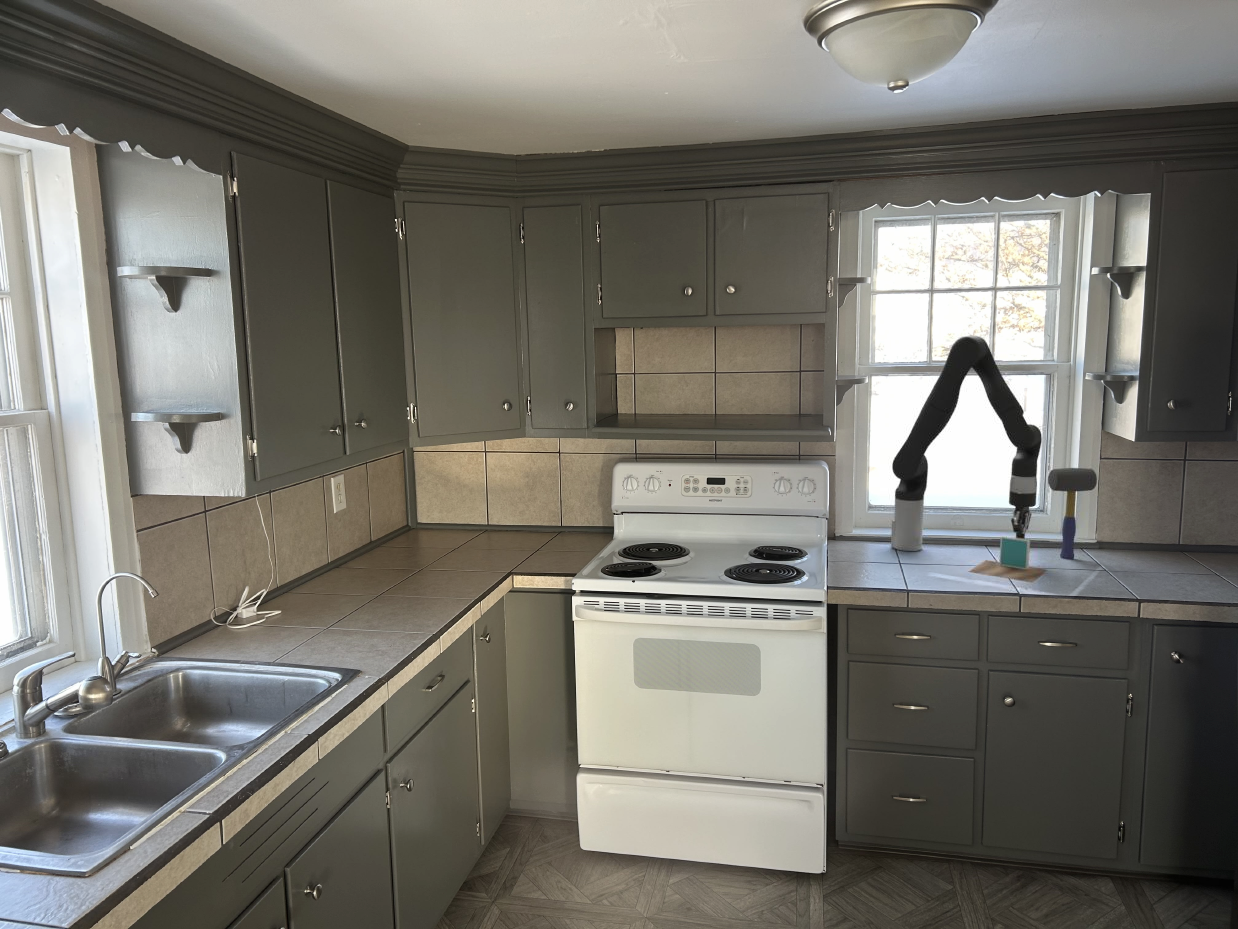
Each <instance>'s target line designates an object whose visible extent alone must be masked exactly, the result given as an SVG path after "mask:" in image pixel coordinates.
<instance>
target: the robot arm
mask: <svg viewBox="0 0 1238 929" xmlns="http://www.w3.org/2000/svg"><path fill="white" fill-rule="evenodd" d="M971 369H972V370H974V372H975V373H976V375H977V376H978V378H979V379H980V381H981V383H982V385H983V388H984V391H985V394H986V397H987V400H988V401H989V404H990V405H991V407H992V409H993V411H994V412H995V413H996V415H997V417H998V419H999V420H1000V421H1001V423H1002V425H1003V429H1004V431H1005V434H1006V436H1007V438H1008V440H1009V441H1010V443H1011V444H1012V445H1013V447H1015V448H1016V452H1015V455H1014V457H1013V458H1012V461H1011V472H1010V474H1011V475H1010V480H1009V492H1008V494H1009V495H1008V504H1009V505H1010V506H1013V507H1015V508H1014V511H1013V512H1012V514H1013V515H1012V516H1013V517H1012V518H1011V520H1010V521H1011V527H1012V529H1013V530H1012V531H1013V533H1014V534H1015V537H1016V538H1023V539H1026V533H1027V531H1028V530H1029V525H1030V521H1031V519H1032V512H1031V511H1030V508H1033V507H1035V506H1036V504H1037V492H1038V490H1037V489H1038V479H1037V474H1038V460H1039V455H1040V452H1041V447H1042V441H1043V438H1042V437H1043V436H1042V432H1041V429H1040V428H1039V427H1038V426H1036V425H1035V424H1031V423H1029V424H1028V423H1027V420H1026V419H1025V417H1024V414H1025V413H1024V409H1023V407H1022V405H1021V404H1020V401H1018V399H1017V398H1016V396H1015V394H1014V393H1013V392H1012V390H1011V389H1010V388H1011V387H1009V385H1008V384H1007V382H1006V380H1005V378H1004V377H1003V375H1002V373H1001V371H1000V369H999V367H998V365H997V363H996V361H995V359H994V356H993V354H992V351H991V349H990V347H989V345H988V343H987V341H986V340H985V339H984V338H983V337H981V336H978V335H965V336H961V337H959V338H957V339H956V340H955V341H954V342H953V344H952V345H951V347H950V350H949V353H948V355H947V357H946V360H945V363H944V365H943V368H942V371H941V373H940V374H939V375H938V378H937V380H936V382H935V384H934V385H933V387H932V389H931V391H930V393H929V395H928V396H927V398H926V400H925V401H924V404H923V406H922V407H921V409H920V411H919V414H918V415H917V418H916V420H915V422H914V424H913V426H912V428H911V429H910V433H909V434H908V436H907V439H906V440H905V441H904V443H903V444H902V446H901V448H900V449H899V450H898V452H897V453H896V455H895V456H894V458H893V461H892V467H891V468H892V469H891V470H892V473H893V475H894V476H895V477H896V478H897V479H899V480H900V481H899V484H898V485H897V487H896V489H895V491H894V513H893V514H894V516H893V519H892V520H891V532H890V534H891V538H890V541H891V542H890V548H891V549H896V550H898V551H903V552H916V551H921V550H922V549H923V530H924V529H923V528H924V505H925V504H924V502H925V493H926V490H927V486H928V476H929V475H928V474H929V464H928V462H929V461H928V459H927V456H926V455H925V453H926V452H927V450H928V448H929V446H930V445H931V444H932V442H933V441H934V440H936V438H937V437H938V436H939V435H940V434H941V432H943V430H944V429H945V427H946V426H947V425H948V424H949V422H950V420H951V418H952V416H953V414H954V412H955V411H956V408H957V405H958V403H959V399H960V398H959V397H960V393H961V388H962V385H963V383H964V380H965V378H966V377H967V375H968V373H969V372H970V370H971Z"/></svg>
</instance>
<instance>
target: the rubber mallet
mask: <svg viewBox="0 0 1238 929" xmlns="http://www.w3.org/2000/svg"><path fill="white" fill-rule="evenodd" d="M1047 478H1048V479H1047V481H1048V486H1049V488H1050V489H1051V491H1053V492H1054V491H1055V492H1066V501H1065V502H1066V503H1065V515H1064V517H1063V521H1062V527H1061V528H1062V530H1061V533H1062V534H1061V535H1062V543H1061V545H1062V546H1061V550H1060V554H1059V556H1060V559H1063V560H1065V559H1066V560H1074V559H1075V552H1074V550H1075V549H1074V547H1075V546H1074V545H1075V537H1076V531H1077V529H1076V528H1077V521H1076V514H1075V513H1076V512H1075V511H1076V498H1077V497H1076V494H1077V492H1088V491H1094V489H1095V488H1096V486H1097V483H1098V476H1097V473H1096V472H1095V471H1094V469H1092V468H1086V467H1085V468H1084V467H1083V468H1082V467H1061V468H1053V469H1052V470H1050V471H1049V473H1048V477H1047Z"/></svg>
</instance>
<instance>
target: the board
mask: <svg viewBox="0 0 1238 929" xmlns="http://www.w3.org/2000/svg"><path fill="white" fill-rule="evenodd" d="M999 562H1000V561H996V560H995V561H994V560H988V559H986V560H984V561H983V562H981V563H979V564H978V565H977V566H975V567H973V568H972V569H970V570H969V571H968V572H969V573H974V574H979V575H986V576H993V577H999V578H1004V579H1010V580H1014V581H1015V580H1017V581H1021V582H1028V583H1034V582H1035V581H1036V580H1037V579H1039V578H1040V577H1041V576H1043V575H1045V573H1046V572H1047V571H1048V569H1046V568H1045V569H1044V568H1039V567H1033V566H1032V567H1031V566H1029V568H1028V569H1021V568H1015V567H1008V566H1002V565H999Z"/></svg>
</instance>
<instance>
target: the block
mask: <svg viewBox="0 0 1238 929" xmlns="http://www.w3.org/2000/svg"><path fill="white" fill-rule="evenodd" d="M999 546H1000V547H999V561H998V562H999V565H1002V566H1008V567H1015V568H1021V569H1028V568H1029V567H1030V553H1031V552H1030V551H1031V548H1030V547H1031V539H1028V538H1025V539H1023V538H1016V536H1014V537H1013V536H1008V535H1001V536H1000V544H999Z"/></svg>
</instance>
